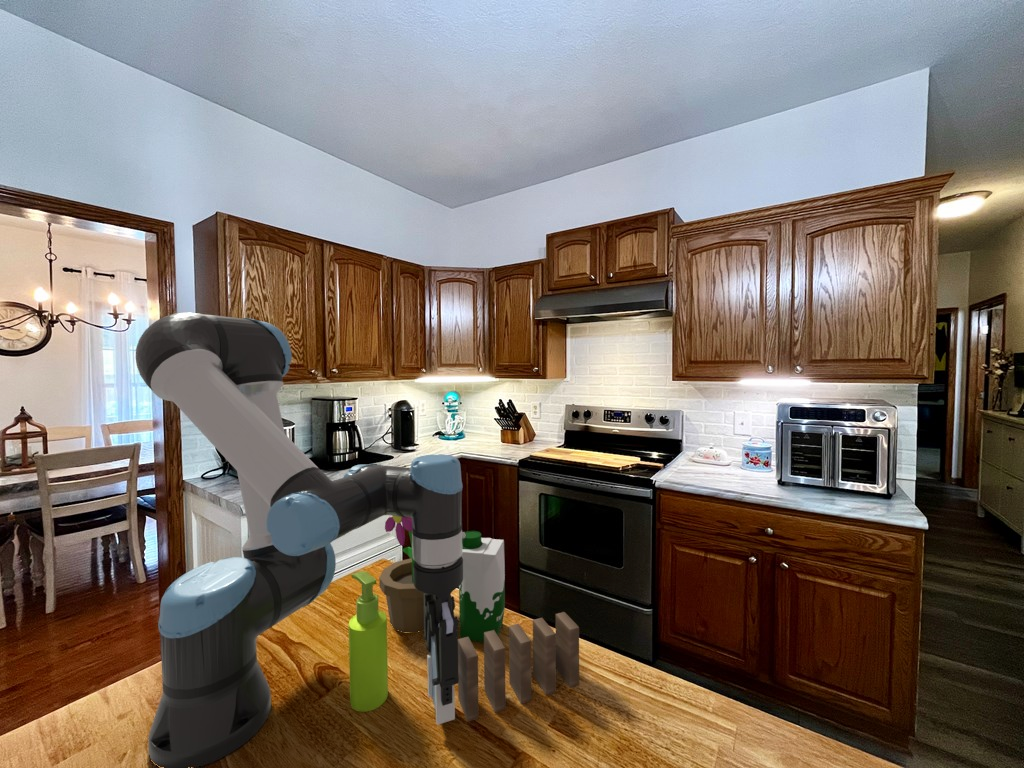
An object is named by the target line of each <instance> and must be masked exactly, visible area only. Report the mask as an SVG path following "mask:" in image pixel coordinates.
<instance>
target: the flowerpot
mask: <svg viewBox="0 0 1024 768" xmlns="http://www.w3.org/2000/svg"><path fill="white" fill-rule="evenodd" d="M384 523H385V524H384V530H385V532H386V533H389V532H392V531H393V530H394V529H395V535H396V541H397V542H398V543H399V545H400V546H405V541H406V534H405V530H406V531H407V532H408V534H409V539H410V546H411V547H410V546H408V547H404V548H402V552H403V553H404V554H406V555H407V556H408V557H409V558H407V559H403V560H399V561H395V562H394V563H392V564H390V565H388V566H387V567H384V568H383V569H382V571H381V573H380V575H379V577H378V580H379V589H380V590H381V592H382V593H383V594H384V596H385V598H386V604H387V610H388V618H389V623H391V624H392V625H391V624H390V625H391V627H392V626H393V627H392V628H394V629H396V630H395V631H397V630H399V631H398V632H400V631H402V632H418V631H420V632H423V631H424V595H423V593H422V592H420V591H418V590H417V589H416V588H415V586H414V583H413V563H414V559H413V553H412V518H410V517H399V516H389V517H388V518H387V519H386V521H384ZM394 629H393V630H394ZM422 630H423V631H422ZM402 632H401V633H402ZM418 633H419V632H418Z"/></svg>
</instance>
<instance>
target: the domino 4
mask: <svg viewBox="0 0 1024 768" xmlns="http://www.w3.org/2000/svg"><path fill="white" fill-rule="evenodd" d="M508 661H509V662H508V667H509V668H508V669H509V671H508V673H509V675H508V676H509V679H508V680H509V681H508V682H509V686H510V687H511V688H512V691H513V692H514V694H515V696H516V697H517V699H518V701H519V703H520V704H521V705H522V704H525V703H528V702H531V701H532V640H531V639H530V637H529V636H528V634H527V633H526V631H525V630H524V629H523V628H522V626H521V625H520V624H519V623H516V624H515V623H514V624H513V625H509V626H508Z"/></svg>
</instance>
